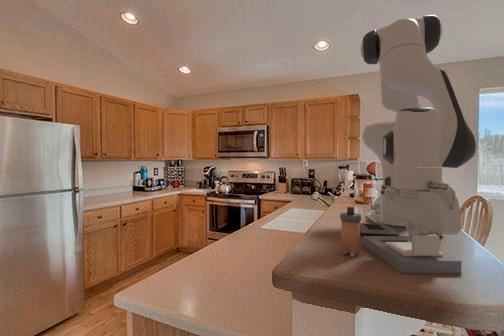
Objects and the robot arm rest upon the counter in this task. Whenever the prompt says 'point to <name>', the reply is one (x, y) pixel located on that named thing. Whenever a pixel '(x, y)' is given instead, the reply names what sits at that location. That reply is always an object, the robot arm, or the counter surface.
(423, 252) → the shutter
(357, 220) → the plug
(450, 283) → the counter surface
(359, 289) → the counter surface
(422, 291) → the counter surface
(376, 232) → the electrical outlet
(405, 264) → the socket block
